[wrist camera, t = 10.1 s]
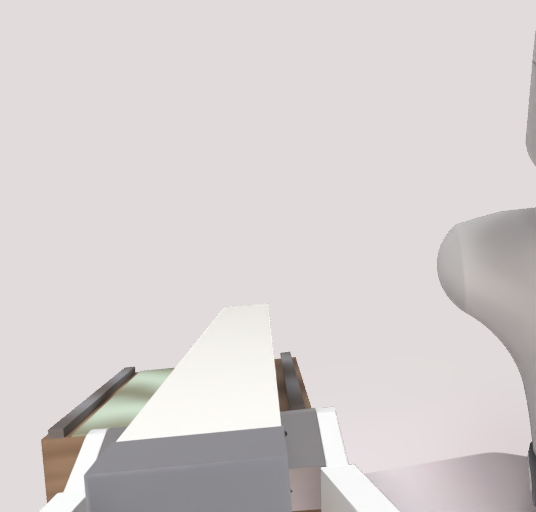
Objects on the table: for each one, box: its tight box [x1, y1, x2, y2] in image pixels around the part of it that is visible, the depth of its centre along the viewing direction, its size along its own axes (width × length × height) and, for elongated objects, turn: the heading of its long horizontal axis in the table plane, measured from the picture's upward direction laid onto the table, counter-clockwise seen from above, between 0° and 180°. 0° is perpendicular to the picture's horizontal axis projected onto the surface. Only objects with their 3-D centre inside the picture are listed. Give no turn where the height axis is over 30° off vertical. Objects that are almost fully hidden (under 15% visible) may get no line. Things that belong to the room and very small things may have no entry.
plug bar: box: [84, 304, 292, 512], centre depth 18 cm, size 23×4×3 cm, turn 1°
